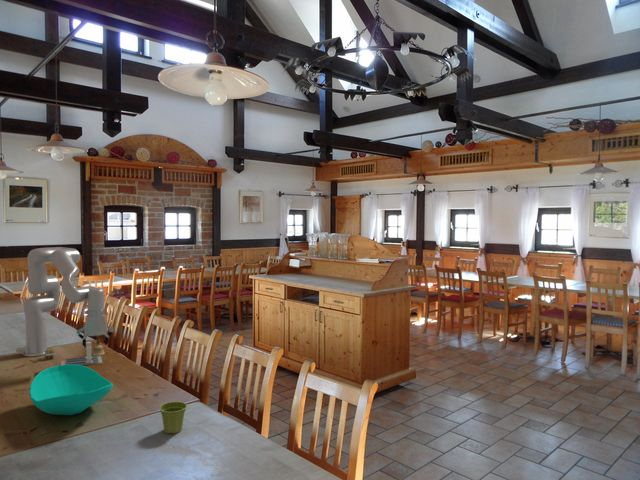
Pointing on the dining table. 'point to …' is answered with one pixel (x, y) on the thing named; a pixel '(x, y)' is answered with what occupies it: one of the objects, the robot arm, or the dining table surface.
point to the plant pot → (173, 416)
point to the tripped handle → (89, 354)
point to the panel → (82, 361)
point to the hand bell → (98, 347)
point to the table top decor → (68, 389)
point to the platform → (50, 353)
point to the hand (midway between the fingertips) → (95, 345)
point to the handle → (88, 344)
